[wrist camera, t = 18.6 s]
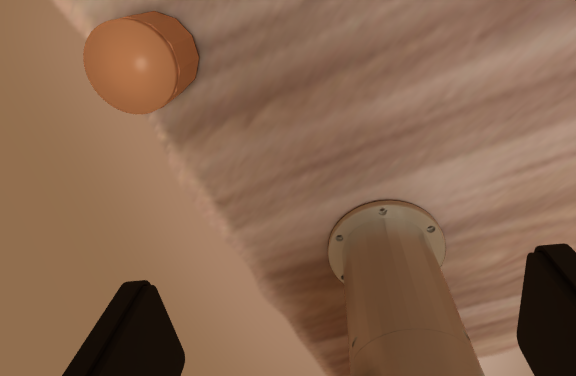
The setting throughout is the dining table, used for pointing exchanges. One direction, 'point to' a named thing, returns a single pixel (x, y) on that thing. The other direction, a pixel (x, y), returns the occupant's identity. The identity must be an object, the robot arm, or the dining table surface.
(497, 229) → the dining table surface
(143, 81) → the orange short cylinder
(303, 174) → the dining table surface
